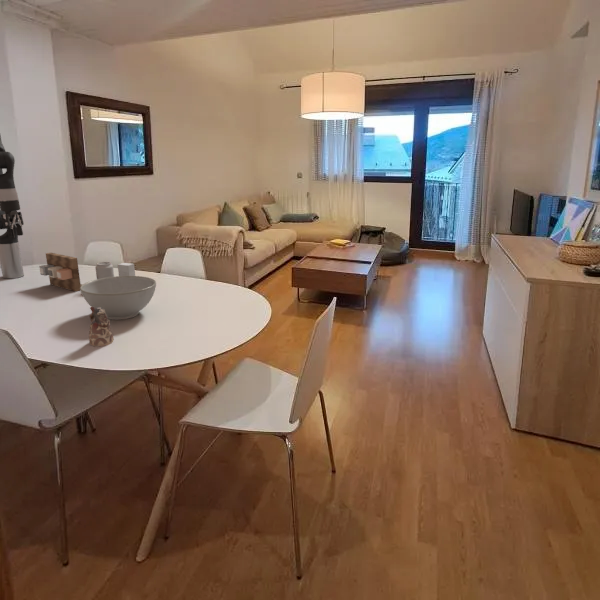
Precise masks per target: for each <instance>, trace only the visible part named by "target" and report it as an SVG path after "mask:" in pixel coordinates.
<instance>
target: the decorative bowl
mask: <svg viewBox="0 0 600 600" xmlns="http://www.w3.org/2000/svg"><path fill="white" fill-rule="evenodd" d="M156 286H157V281H156V279H154V278H151V277H148V276H140V275H135V276H119V275H118V276H114V277H108V278H101V279H97V278H96V279H93V280H90V281H88V282H85V283H83V284H82V286H81V287H80V291H79V292H80V293H81V295H82V297H83V298H84V300H85V301H86V303H87V304H88V305H89V306H90V308H91V307H92V306H93V307H94V308H97V307H101V308H103V309H104V310H105V313H106V315H107V318H108V320H127V319H131V318H134V317H137V316H139V314H140V312H141V311H142V310H143V309H145V307H146V306H147V305H148V304H149V303H150V302H151V300H152V297H153V296H154V295H155V294H154V293H155V291H156Z"/></svg>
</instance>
